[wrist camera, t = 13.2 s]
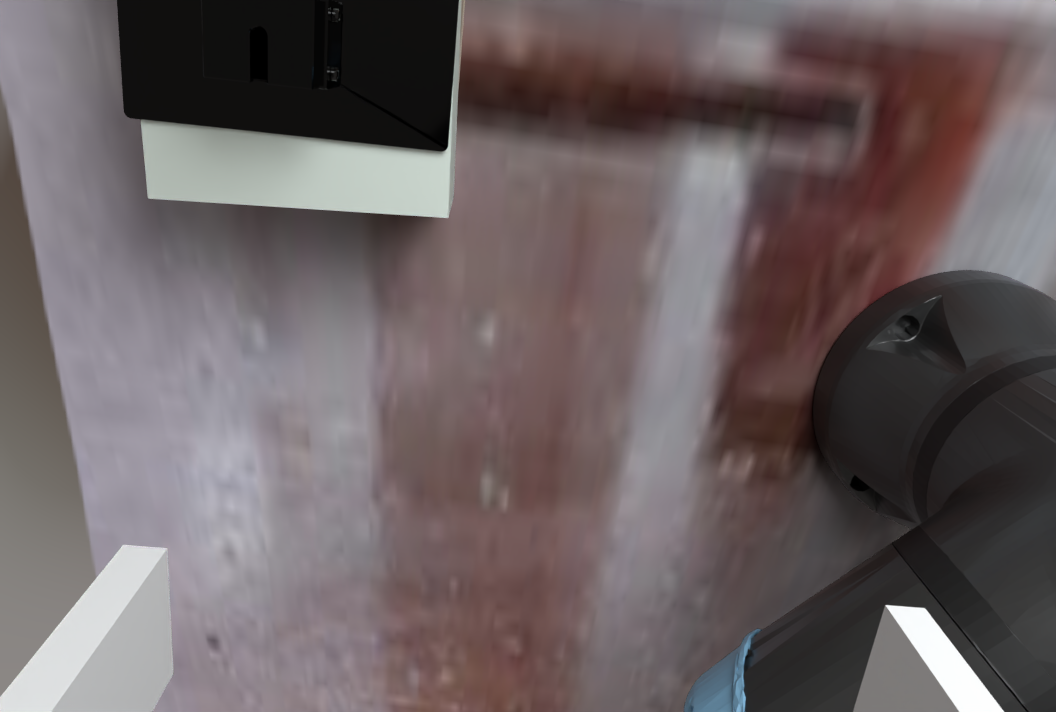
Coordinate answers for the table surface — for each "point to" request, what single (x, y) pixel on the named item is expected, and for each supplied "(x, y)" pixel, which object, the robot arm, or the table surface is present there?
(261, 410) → the table surface
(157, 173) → the top block
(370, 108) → the build plate
